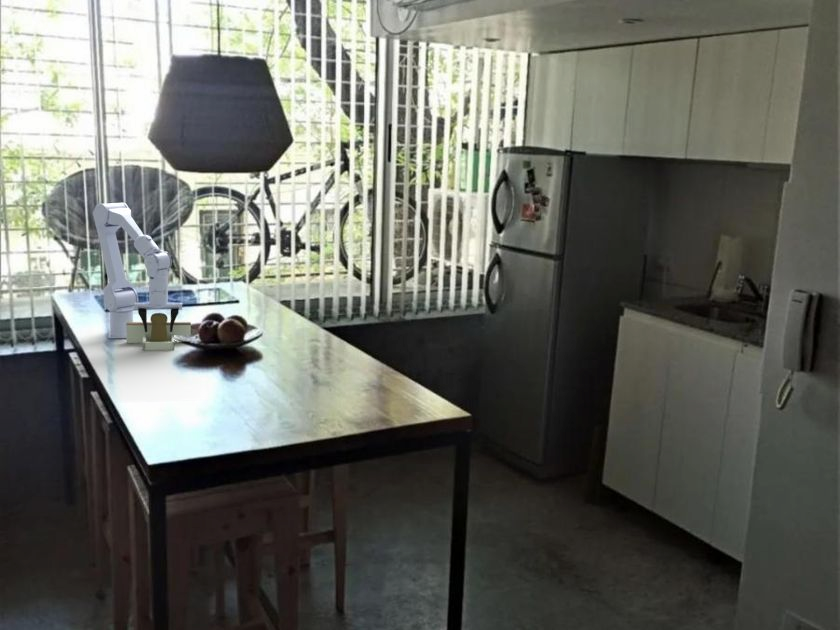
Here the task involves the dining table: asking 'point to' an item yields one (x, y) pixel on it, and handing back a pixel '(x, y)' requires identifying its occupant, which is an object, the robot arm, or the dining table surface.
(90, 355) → the dining table surface
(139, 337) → the stand
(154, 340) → the cork
